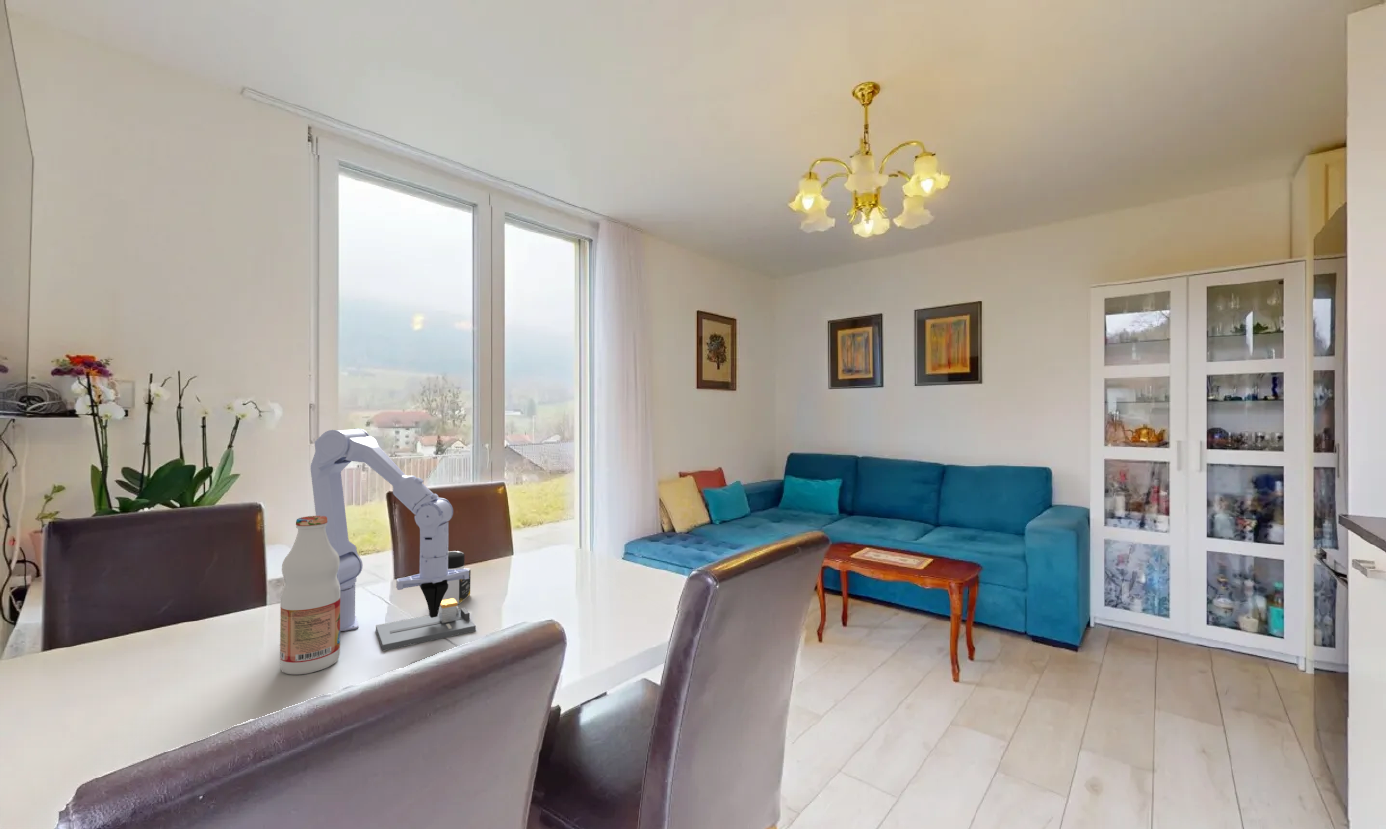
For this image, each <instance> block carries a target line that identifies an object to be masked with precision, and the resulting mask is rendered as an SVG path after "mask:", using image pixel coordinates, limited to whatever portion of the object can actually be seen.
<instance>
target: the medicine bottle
mask: <svg viewBox="0 0 1386 829" xmlns="http://www.w3.org/2000/svg"><path fill="white" fill-rule="evenodd" d="M465 558H466V557H465V553H464V552H462V551H459V550H457V551H456V550H452V551H448V570H457V569H468V570H469V579H459V580H453V581H447V583H448V589H447V591H446V593H445V595H444V597H443V599H442V600H445V599H451V598H454V599H455V600H456V602H457V605H460V604H461V603H462V602H463V601H465V600H466V599H468V597H470V595H471V575H472V574H471V570H472V569H471V568H469V567H468V568H467V567H465Z"/></svg>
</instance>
